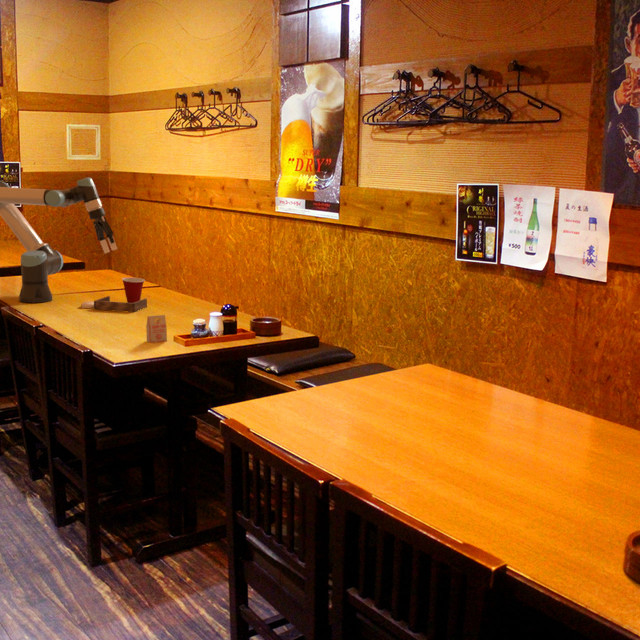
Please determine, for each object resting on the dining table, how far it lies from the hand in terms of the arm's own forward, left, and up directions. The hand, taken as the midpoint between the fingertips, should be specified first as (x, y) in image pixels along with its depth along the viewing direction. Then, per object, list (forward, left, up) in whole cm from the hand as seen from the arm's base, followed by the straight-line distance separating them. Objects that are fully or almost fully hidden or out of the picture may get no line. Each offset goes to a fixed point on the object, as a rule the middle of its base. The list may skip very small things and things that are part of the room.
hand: (110, 251), depth 371 cm
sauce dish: (0, -22, -24) cm, 33 cm away
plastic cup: (+15, -7, -24) cm, 29 cm away
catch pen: (+15, -21, -23) cm, 35 cm away
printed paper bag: (+58, -75, -24) cm, 98 cm away
